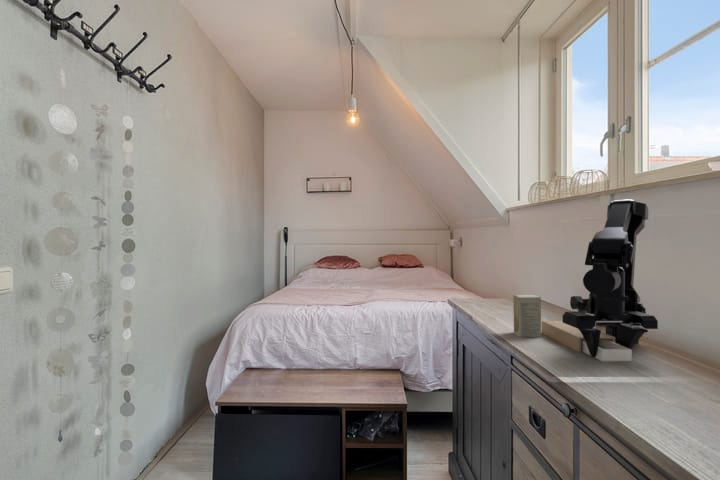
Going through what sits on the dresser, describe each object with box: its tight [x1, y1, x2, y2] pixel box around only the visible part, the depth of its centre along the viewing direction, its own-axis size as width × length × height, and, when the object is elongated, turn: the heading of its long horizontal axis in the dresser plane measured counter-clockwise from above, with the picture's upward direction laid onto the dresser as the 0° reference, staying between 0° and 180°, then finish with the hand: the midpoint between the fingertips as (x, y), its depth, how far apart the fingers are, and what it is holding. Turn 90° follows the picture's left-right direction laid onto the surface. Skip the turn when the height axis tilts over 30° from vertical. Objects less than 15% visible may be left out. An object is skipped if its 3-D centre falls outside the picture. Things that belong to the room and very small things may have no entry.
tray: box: [581, 339, 633, 362], centre depth 82 cm, size 7×16×3 cm, turn 1°
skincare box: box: [512, 294, 542, 338], centre depth 94 cm, size 6×4×12 cm
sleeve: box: [541, 320, 615, 353], centre depth 88 cm, size 9×16×4 cm, turn 1°
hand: (608, 356), depth 77 cm, fingers closed on tray, 7 cm apart
